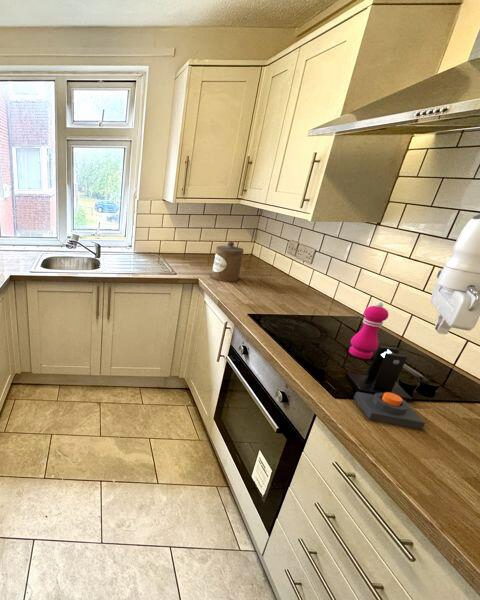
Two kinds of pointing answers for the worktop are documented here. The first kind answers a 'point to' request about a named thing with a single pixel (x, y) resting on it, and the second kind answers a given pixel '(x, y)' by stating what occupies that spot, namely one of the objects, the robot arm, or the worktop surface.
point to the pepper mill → (368, 332)
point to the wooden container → (227, 262)
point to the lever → (409, 369)
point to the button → (392, 399)
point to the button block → (388, 411)
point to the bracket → (382, 374)
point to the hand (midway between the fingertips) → (440, 331)
